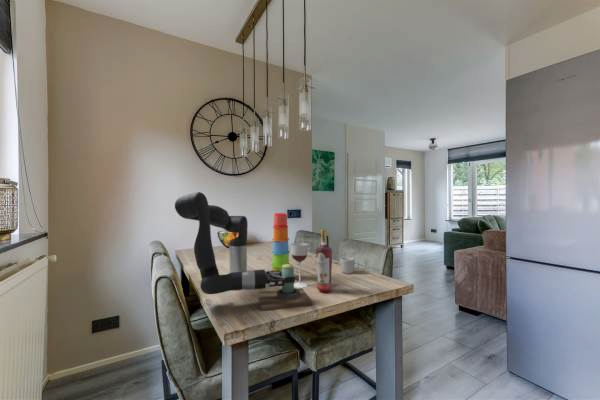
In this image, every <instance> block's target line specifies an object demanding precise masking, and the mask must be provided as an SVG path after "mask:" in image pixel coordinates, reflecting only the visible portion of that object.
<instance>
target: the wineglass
mask: <svg viewBox="0 0 600 400" xmlns="http://www.w3.org/2000/svg"><path fill="white" fill-rule="evenodd" d="M308 250H309V244H308V243H307V242H293V243H290V251H291V252H290V253H291V256H292V259H293V260H295V261H296V262H298V282H296V283H295V282H294V288H296V289H299V288H303V289H304V288H306V287H308V283H305V282H302V281H301V263H302V262H304V261H305V260H306V259H307V256H308Z"/></svg>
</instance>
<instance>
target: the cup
mask: <svg viewBox="0 0 600 400" xmlns="http://www.w3.org/2000/svg"><path fill="white" fill-rule="evenodd" d="M339 261H340V269H341V273H343V274H346V275H347V274H348V275H350V274H352V273H354V271H358V270H359V268H360V264H359V262H358V261H355V258H354V257H348V256H342V257H340V258H339ZM355 264H356V267H355Z"/></svg>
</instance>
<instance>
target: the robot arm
mask: <svg viewBox="0 0 600 400" xmlns="http://www.w3.org/2000/svg"><path fill="white" fill-rule="evenodd" d="M174 209H175V211H176V213H177V214H178V216H179V217H181V218H183V219H187V220H192V221H198V223H199V225H198V231H197V234H196V237H195V242H194V246H193V252H194V259H195V262H196V266H197V268H198V269H199V272H200V277H201V281H200V290H201V292H202V293H204V294H206V295H217V294H221V293H222V294H223V293H226V292H229V291H232V292H235V291H252V290H263V289H266V287H267V284H268V285H269V287H271V288H272V287H282V286H285V284H286V283H294V284H295V281H296V278H295V276H294V277H282V271H280V270H275V271H273V270H267V271H266V270H265V269H254V270H253V269H252V270H248V256H247V255H248V247H247V246H248V245H247V241H248V227H249V226H248V219H247V216H244V215H229V212H228V211H227V210H226V209H224V208H222V207H220V206H217V205H212V204H209V202H208V199H207V197H206V195H205V194H204V193H203V192H201V191H199V192H194V193H190V194H186V195H183V196H179V197H178V198H177V199H176V201H175V202H174ZM211 226H213V227H216V228H220V229H223V230H224V231H227V232H229V233H233V234H235V233H236V234H237V235H238V236H237V237H236V238H232V239H230V240H229V242H228V244H229V246H228V247H229V248H228V249H229V273H227V274H220V272H219V269H218V266H217V263H216V256H215V252H214V248H213V242H212V234H211V233H212V232H211Z"/></svg>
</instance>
